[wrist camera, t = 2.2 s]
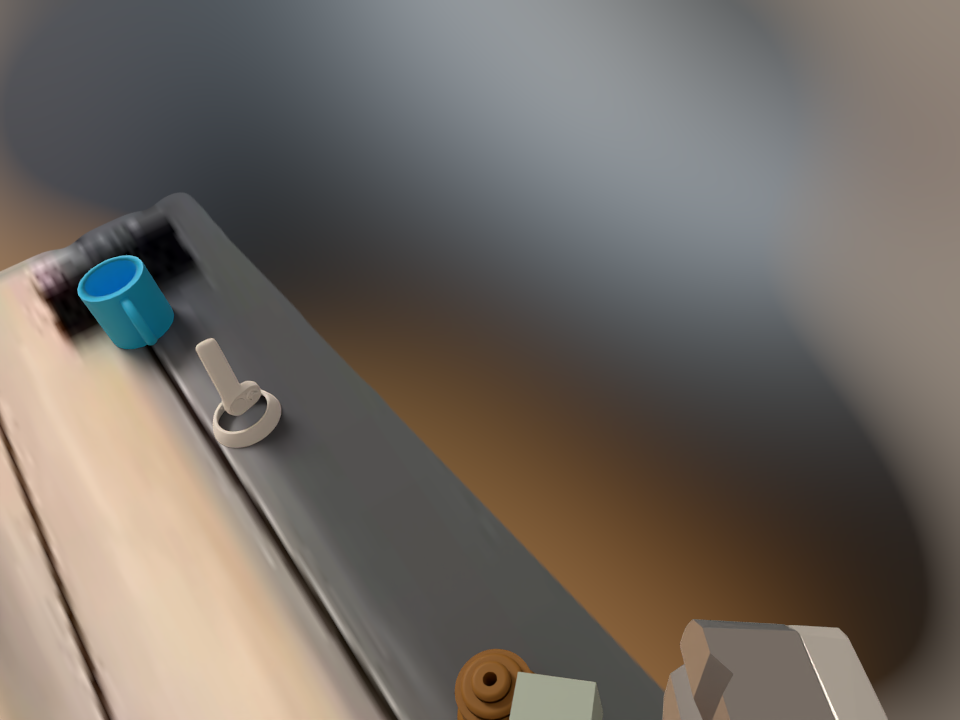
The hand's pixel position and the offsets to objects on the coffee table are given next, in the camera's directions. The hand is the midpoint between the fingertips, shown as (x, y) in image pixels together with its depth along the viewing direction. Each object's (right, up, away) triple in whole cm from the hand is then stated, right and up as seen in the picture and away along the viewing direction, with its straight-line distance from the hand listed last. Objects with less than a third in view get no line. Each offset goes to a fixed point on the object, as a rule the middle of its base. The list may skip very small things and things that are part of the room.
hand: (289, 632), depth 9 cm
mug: (-39, +6, +97) cm, 105 cm away
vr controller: (-23, -4, +84) cm, 87 cm away
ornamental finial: (+4, -25, +56) cm, 62 cm away
